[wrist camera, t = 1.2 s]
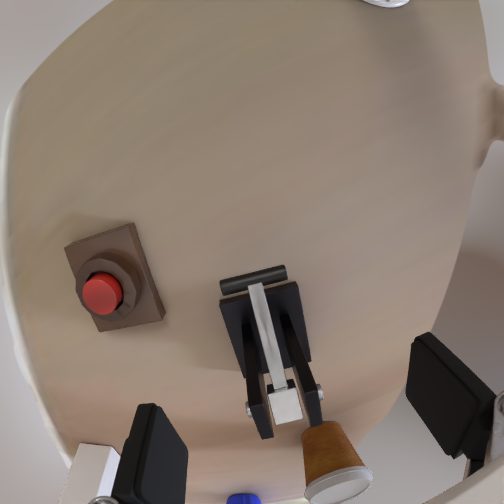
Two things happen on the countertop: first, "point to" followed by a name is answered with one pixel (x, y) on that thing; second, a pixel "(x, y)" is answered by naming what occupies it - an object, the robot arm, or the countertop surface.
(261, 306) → the lever
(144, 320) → the button block
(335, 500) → the disposable coffee cup
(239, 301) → the black lever base
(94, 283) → the button
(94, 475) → the milk carton
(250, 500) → the mug
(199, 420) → the countertop surface
